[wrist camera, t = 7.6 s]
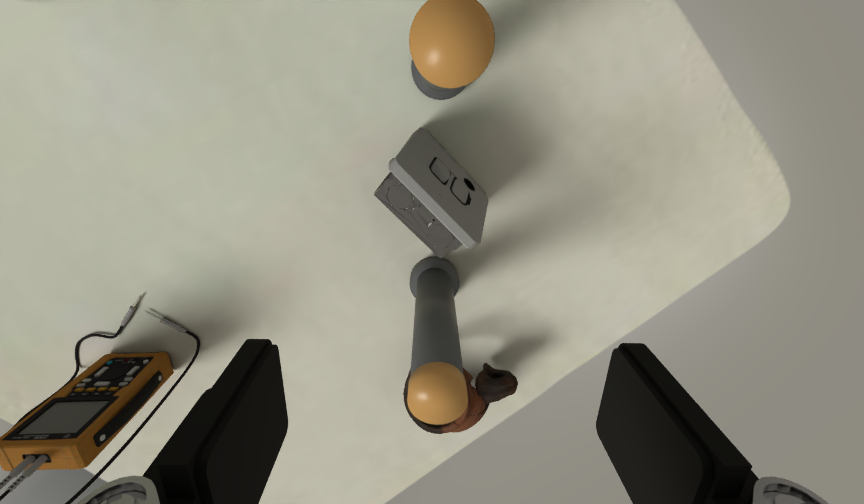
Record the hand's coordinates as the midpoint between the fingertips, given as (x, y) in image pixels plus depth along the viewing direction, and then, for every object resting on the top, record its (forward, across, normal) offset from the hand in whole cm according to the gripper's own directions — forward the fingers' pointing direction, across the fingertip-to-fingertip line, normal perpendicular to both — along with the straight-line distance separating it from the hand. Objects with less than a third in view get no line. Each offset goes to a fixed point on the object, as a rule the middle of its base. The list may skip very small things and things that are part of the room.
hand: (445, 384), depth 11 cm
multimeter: (+29, +32, +18) cm, 47 cm away
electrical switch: (+29, -1, 0) cm, 29 cm away
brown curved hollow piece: (+29, -4, +22) cm, 37 cm away
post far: (+29, -1, +10) cm, 31 cm away
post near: (+29, -1, -10) cm, 31 cm away
